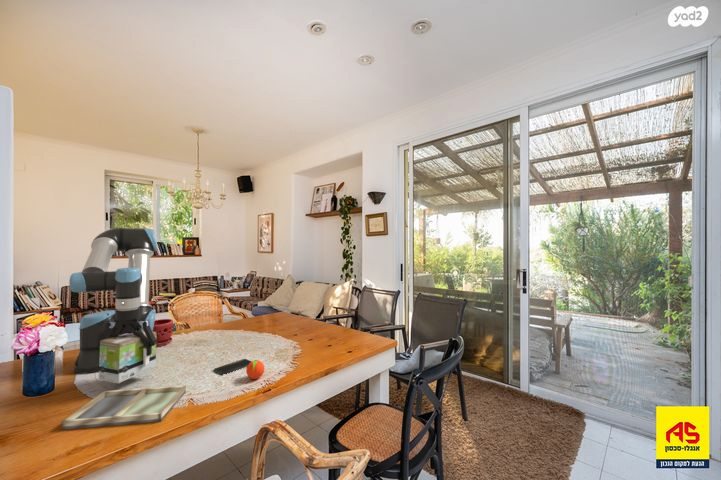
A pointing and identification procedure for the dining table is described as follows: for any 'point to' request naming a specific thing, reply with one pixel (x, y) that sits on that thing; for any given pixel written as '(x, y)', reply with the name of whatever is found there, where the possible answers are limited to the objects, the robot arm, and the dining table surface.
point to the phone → (232, 366)
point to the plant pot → (163, 331)
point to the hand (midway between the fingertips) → (127, 364)
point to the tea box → (123, 358)
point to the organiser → (126, 407)
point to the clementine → (255, 369)
